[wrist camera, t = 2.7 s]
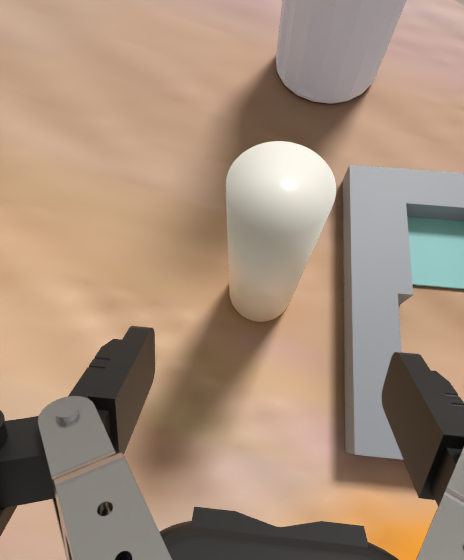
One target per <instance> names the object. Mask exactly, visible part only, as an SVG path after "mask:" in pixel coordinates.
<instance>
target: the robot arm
mask: <svg viewBox="0 0 464 560" xmlns="http://www.w3.org/2000/svg"><path fill="white" fill-rule="evenodd" d="M154 373H155V334H154V329H153V328H148V327H137V326H131V327H130V328H129V329H128V331H127V333H126V334H125V336H124V338H123V339H122V340H119V339H113V340H111V341H110V342H108V343H107V344H105V345H104V346H102V347H101V349H100V350H99V352H98V353H97V355H96V356H95V359H93V360H92V362H91V363H90V365H89V368H87V369H86V371H85V372H84V374H83V375H82V377H81V378H80V380H79V381H78V383H77V384H76V386H75V387H74V388H73V390H72V391H71V393H70V394H69V396H68V397H64V398H61V399H58V400H56V401H54V402H52V403H50V404H49V405H47V406H46V407H45V408H44V409H43V410H42V412H41V413H40V415H39V416H36V417H31V418H24V419H17V420H9V421H5V419H4V415H3V413H2V411H0V536H1V534H2V532H3V531H4V529H5V527H6V525H7V523H8V521H9V520H10V518H11V516H12V514H13V512H14V511H15V509H16V507H17V505H22V504H28V503H33V502H38V501H43V500H48V499H52V500H53V504H54V508H55V513H56V517H57V521H58V525H59V529H60V533H61V538H62V542H63V546H64V550H65V554H66V558H67V560H398V559H397V558H396V557H394V556H393V555H391V554H390V553H388V552H387V551H385V550H383V549H381V548H379V547H377V546H375V545H373V544H371V543H369V542H367V538H366V534H365V530H364V526H358V525H349V524H341V523H332V522H323V521H320V522H314V523H307V524H300V525H294V526H287V527H276V526H273V525H270V524H267V523H265V522H262V521H259V520H257V519H254V518H251V517H249V516H246V515H244V514H241V513H238V512H236V511H228V510H219V509H210V508H201V507H194V511H193V517H192V521H188V522H183V523H179V524H176V525H173V526H171V527H168V528H166V529H164V530H162V531H160V532H159V530H158V528H157V526H156V524H155V522H154V520H153V517H152V515H151V513H150V511H149V509H148V507H147V505H146V502H145V500H144V498H143V496H142V494H141V492H140V489H139V487H138V485H137V483H136V481H135V479H134V476H133V474H132V472H131V470H130V468H129V466H128V463H127V461H126V459H125V457H124V452H125V450H126V447H127V445H128V442H129V440H130V437H131V435H132V433H133V430H134V428H135V425H136V423H137V420H138V418H139V415H140V413H141V410H142V408H143V405H144V403H145V400H146V398H147V395H148V393H149V390H150V388H151V386H152V383H153V379H154ZM382 406H383V410H384V412H385V415H386V417H387V420H388V422H389V425H390V427H391V430H392V432H393V435H394V437H395V440H396V442H397V445H398V447H399V450H400V452H401V455H402V457H403V460H404V462H405V465H406V467H407V470H408V472H409V475H410V477H411V480H412V482H413V485H414V487H415V490H416V492H417V495H418V497H419V498H423V499H432V500H436V502H437V505H438V509H437V511H436V513H435V516H434V518H433V520H432V523H431V525H430V528H429V530H428V532H427V535H426V537H425V539H424V542H423V544H422V547H421V549H420V551H419V554H418V556H417V558H416V560H464V403H463V401H462V400H461V398H460V397H458V394H457V392H456V391H455V389H454V388H453V386H452V385H451V383H450V382H449V381H448V380H446V379H445V378H444V377H443V376H441V375H440V374H439V373H438V372H436V371H430V369H429V367H428V366H427V364H426V363H425V361H424V360H423V358H422V357H421V355H419V354H412V353H401V352H394V353H393V355H392V357H391V360H390V364H389V367H388V371H387V374H386V378H385V381H384V385H383V389H382Z"/></svg>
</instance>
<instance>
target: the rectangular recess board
mask: <svg viewBox="0 0 464 560" xmlns="http://www.w3.org/2000/svg"><path fill="white" fill-rule="evenodd" d="M343 267H344V369H345V453H350V454H354V455H363V456H373V457H383V458H392V459H402V460H403V457H402V455H401V452H400V450H399V447H398V445H397V442H396V440H395V437H394V435H393V432H392V430H391V427H390V425H389V422H388V420H387V417H386V415H385V412H384V410H383V406H382V389H383V385H384V381H385V378H386V374H387V371H388V367H389V364H390V360H391V357H392V355H393V353H394V352H401V336H400V320H399V304H401V303H403V302H404V301H405V300H407V299H408V298H410V297H411V296H412V295H413V285H417V286H429V287H440V288H452V289H464V173H454V172H441V171H427V170H414V169H400V168H387V167H373V166H360V165H349V167H348V170H347V172H346V174H345V176H344V179H343ZM401 353H402V352H401Z"/></svg>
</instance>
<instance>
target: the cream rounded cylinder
mask: <svg viewBox="0 0 464 560" xmlns="http://www.w3.org/2000/svg"><path fill="white" fill-rule="evenodd" d="M335 196H336V183H335V179H334V176H333V173H332V171H331V169H330V168H329V166H328V165H327V163H326V162H325V161H324V160H323V159H322V158H321V157H320V156H319V155H318V154H316V153H315V152H314V151H312V150H310V149H309V148H307V147H304V146H302V145H299V144H296V143H292V142H285V141H273V142H266V143H262V144H259V145H256V146H253V147H251V148H249V149H248V150H246V151H245V152H243V153H242V154H241V155H240V156H239V157H238V158H237V159H236V160H235V161H234V163H233V164H232V165H231V167H230V169H229V172H228V175H227V179H226V208H227V237H228V266H229V294H230V300H231V302H232V305H233V306H234V308H235V309H236V311H237V312H238V313H239V314H240V315H242V316H243V317H245V318H247V319H249V320H252V321H257V322H265V321H270V320H273V319H275V318H277V317H278V316H280V315H281V314H282V313H283V312H284V311H285V310H286V308H287V307H288V305H289V303H290V300H291V298H292V296H293V294H294V291H295V289H296V287H297V285H298V282H299V280H300V278H301V276H302V273H303V271H304V269H305V267H306V265H307V262H308V260H309V258H310V256H311V253H312V251H313V249H314V247H315V244H316V242H317V240H318V238H319V235H320V233H321V231H322V229H323V227H324V224H325V222H326V220H327V218H328V215H329V213H330V211H331V209H332V206H333V204H334V201H335Z"/></svg>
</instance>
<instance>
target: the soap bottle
mask: <svg viewBox="0 0 464 560" xmlns="http://www.w3.org/2000/svg"><path fill="white" fill-rule="evenodd" d="M405 2H406V0H282V8H281V17H280V26H279V35H278V43H277V52H276V66H277V72H278V74H279V76H280V78H281V80H282V81H283V83H284V85H285V86H286V87H288V88H289V89H290V90H291V91H292V92H294V93H295V94H296V95H298V96H300V97H303V98H305V99H308V100H310V101H313V102H320V103H329V104H332V103H338V102H345V101H349V100H351V99H353V98H355V97H357V96H359V95H361V94H362V93H363V92H364V91H365V90H366V89H367V88H368V87H369V86H370V85H371V84H372V83H373V81H374V79H375V76H376V74H377V71H378V69H379V67H380V64H381V62H382V59H383V57H384V54H385V52H386V49H387V47H388V44H389V42H390V39H391V37H392V34H393V32H394V29H395V27H396V24H397V22H398V20H399V17H400V15H401V12H402V10H403V7H404V5H405Z"/></svg>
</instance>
